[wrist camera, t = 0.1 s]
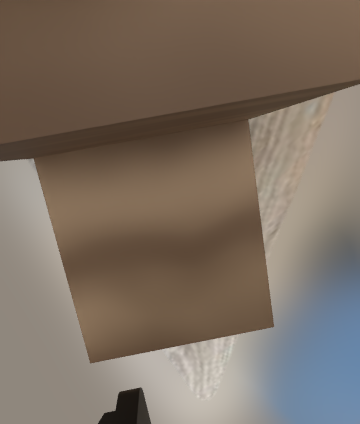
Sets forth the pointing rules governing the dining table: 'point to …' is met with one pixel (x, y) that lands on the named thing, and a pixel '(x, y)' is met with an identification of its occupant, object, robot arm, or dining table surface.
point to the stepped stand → (161, 149)
